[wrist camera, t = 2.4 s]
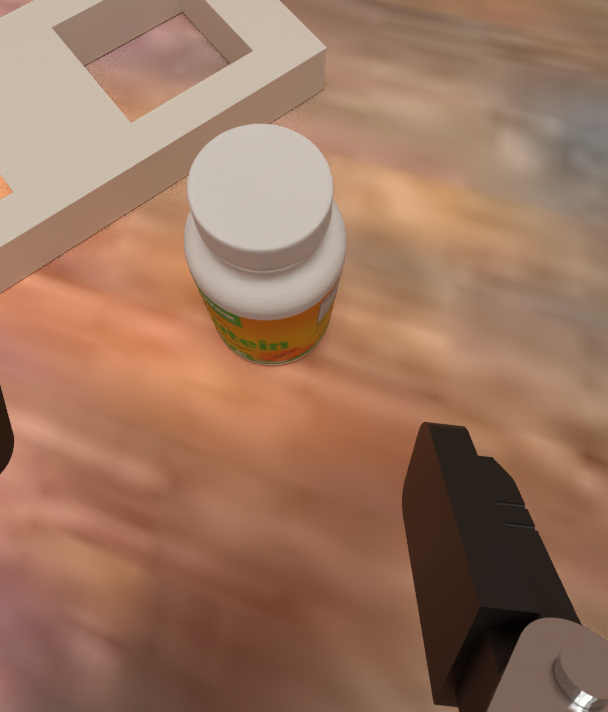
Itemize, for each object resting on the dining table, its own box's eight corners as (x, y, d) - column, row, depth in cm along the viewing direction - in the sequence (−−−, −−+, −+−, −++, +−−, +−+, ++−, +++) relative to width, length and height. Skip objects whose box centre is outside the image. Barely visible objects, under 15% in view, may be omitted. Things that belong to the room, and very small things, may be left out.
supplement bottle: (196, 344, 21) (123, 235, 12) (240, 245, 23) (206, 78, 13) (307, 384, 21) (321, 305, 12) (345, 281, 22) (385, 135, 13)
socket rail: (205, -33, 27) (196, -83, 25) (323, 89, 25) (326, 47, 23) (-238, 203, 23) (-301, 170, 20) (-137, 379, 20) (-194, 365, 18)
